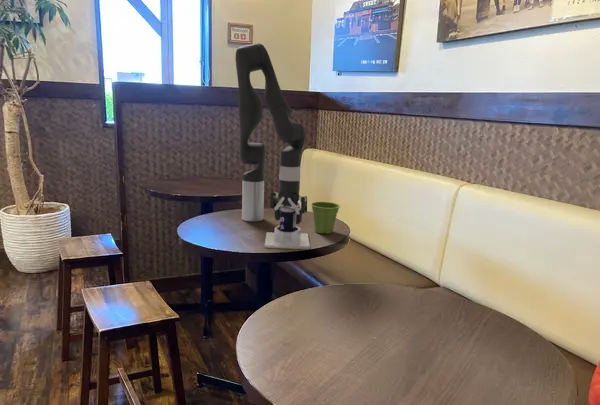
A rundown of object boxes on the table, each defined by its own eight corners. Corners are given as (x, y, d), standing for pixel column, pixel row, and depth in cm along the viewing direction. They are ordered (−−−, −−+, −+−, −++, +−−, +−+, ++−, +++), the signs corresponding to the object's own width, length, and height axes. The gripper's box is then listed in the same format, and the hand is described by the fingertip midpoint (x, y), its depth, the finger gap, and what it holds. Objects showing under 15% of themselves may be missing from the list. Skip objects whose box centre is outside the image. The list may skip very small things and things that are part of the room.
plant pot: (334, 237, 177) (336, 209, 174) (305, 233, 180) (306, 205, 178) (341, 230, 188) (343, 203, 185) (314, 226, 191) (315, 200, 189)
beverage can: (285, 235, 172) (286, 205, 170) (297, 238, 169) (298, 207, 167) (276, 239, 168) (277, 207, 165) (288, 242, 164) (289, 209, 162)
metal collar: (266, 234, 176) (266, 222, 175) (307, 236, 177) (308, 223, 176) (264, 247, 160) (265, 234, 159) (309, 249, 161) (310, 235, 160)
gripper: (267, 177, 163) (266, 220, 167) (302, 182, 157) (300, 227, 161) (278, 174, 170) (276, 216, 173) (311, 179, 164) (309, 222, 167)
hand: (287, 221), depth 167 cm, fingers open, 8 cm apart
